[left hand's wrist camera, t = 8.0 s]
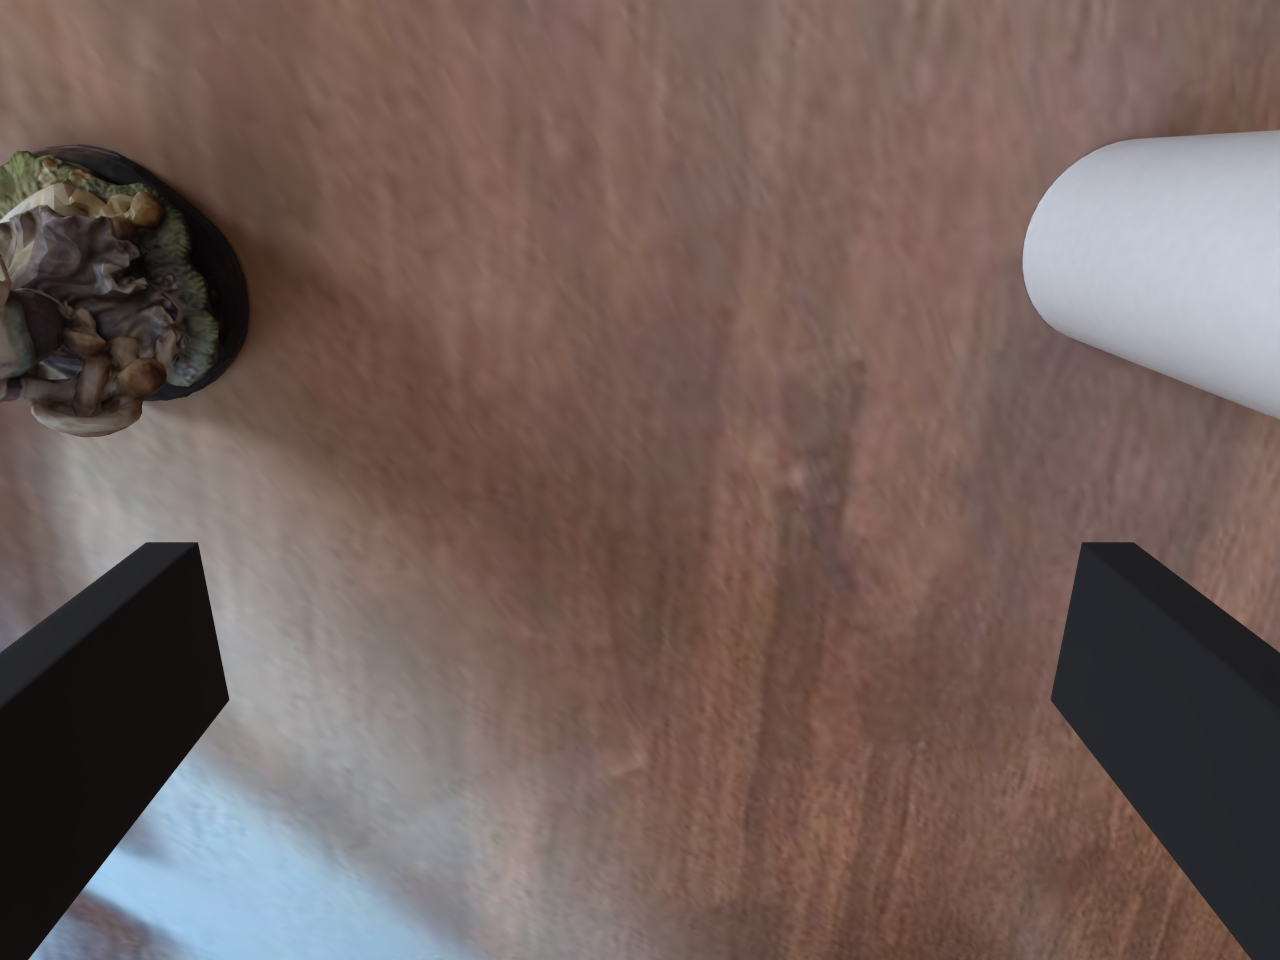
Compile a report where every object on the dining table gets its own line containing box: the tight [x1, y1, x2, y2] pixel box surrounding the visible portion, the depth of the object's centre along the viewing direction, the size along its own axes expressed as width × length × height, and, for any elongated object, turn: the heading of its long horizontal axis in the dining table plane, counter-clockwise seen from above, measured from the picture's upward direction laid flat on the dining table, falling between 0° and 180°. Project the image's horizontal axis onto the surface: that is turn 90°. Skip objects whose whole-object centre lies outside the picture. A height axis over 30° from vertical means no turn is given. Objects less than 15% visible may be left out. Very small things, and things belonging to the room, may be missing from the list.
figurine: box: [0, 145, 248, 437], centre depth 31 cm, size 12×11×15 cm
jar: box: [1023, 130, 1280, 420], centre depth 29 cm, size 9×9×18 cm
